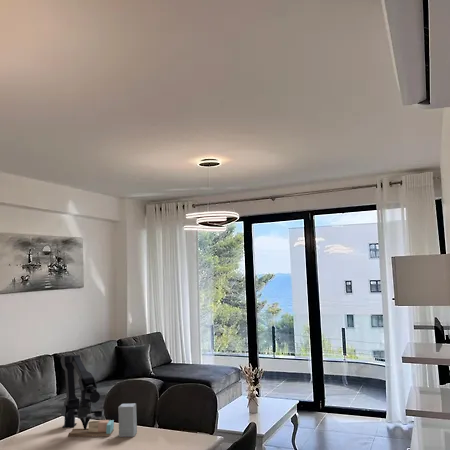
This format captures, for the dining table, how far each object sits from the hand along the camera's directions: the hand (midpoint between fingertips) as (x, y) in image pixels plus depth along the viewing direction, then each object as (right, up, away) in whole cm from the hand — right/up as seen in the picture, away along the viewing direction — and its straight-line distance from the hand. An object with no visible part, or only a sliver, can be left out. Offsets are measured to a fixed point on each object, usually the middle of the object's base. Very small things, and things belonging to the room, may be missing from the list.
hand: (85, 429), depth 248 cm
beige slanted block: (+5, -1, 0) cm, 5 cm away
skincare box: (+23, -2, -3) cm, 24 cm away
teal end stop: (+13, -1, 0) cm, 13 cm away
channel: (+3, -2, 0) cm, 4 cm away
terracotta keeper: (+10, -1, 0) cm, 10 cm away
